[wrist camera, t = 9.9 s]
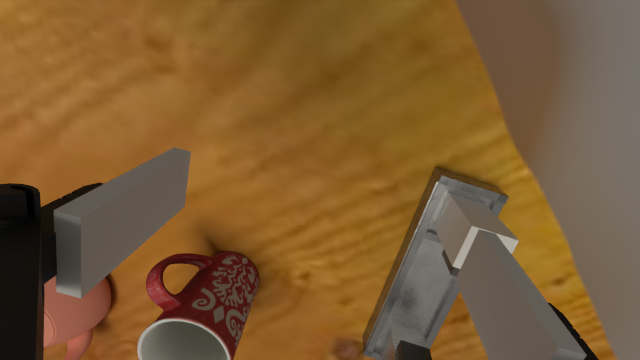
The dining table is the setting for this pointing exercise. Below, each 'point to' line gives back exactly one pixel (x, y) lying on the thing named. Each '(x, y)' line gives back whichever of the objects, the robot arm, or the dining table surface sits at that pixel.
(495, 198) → the rail
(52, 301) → the teapot
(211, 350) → the mug
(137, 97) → the dining table surface
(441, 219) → the small grey block
